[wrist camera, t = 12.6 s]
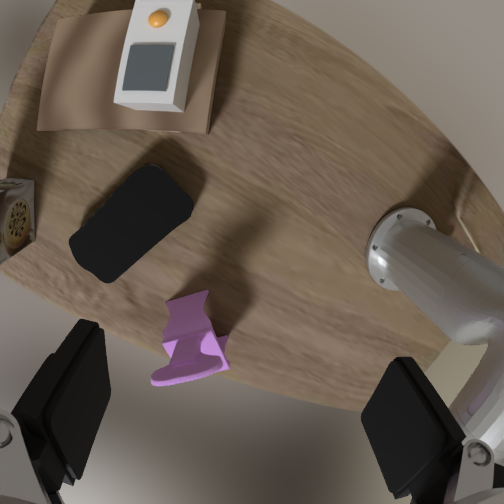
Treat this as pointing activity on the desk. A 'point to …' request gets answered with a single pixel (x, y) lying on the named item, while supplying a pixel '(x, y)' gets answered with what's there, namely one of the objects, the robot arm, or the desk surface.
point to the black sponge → (130, 223)
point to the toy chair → (190, 343)
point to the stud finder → (158, 55)
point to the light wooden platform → (106, 72)
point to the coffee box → (16, 216)
